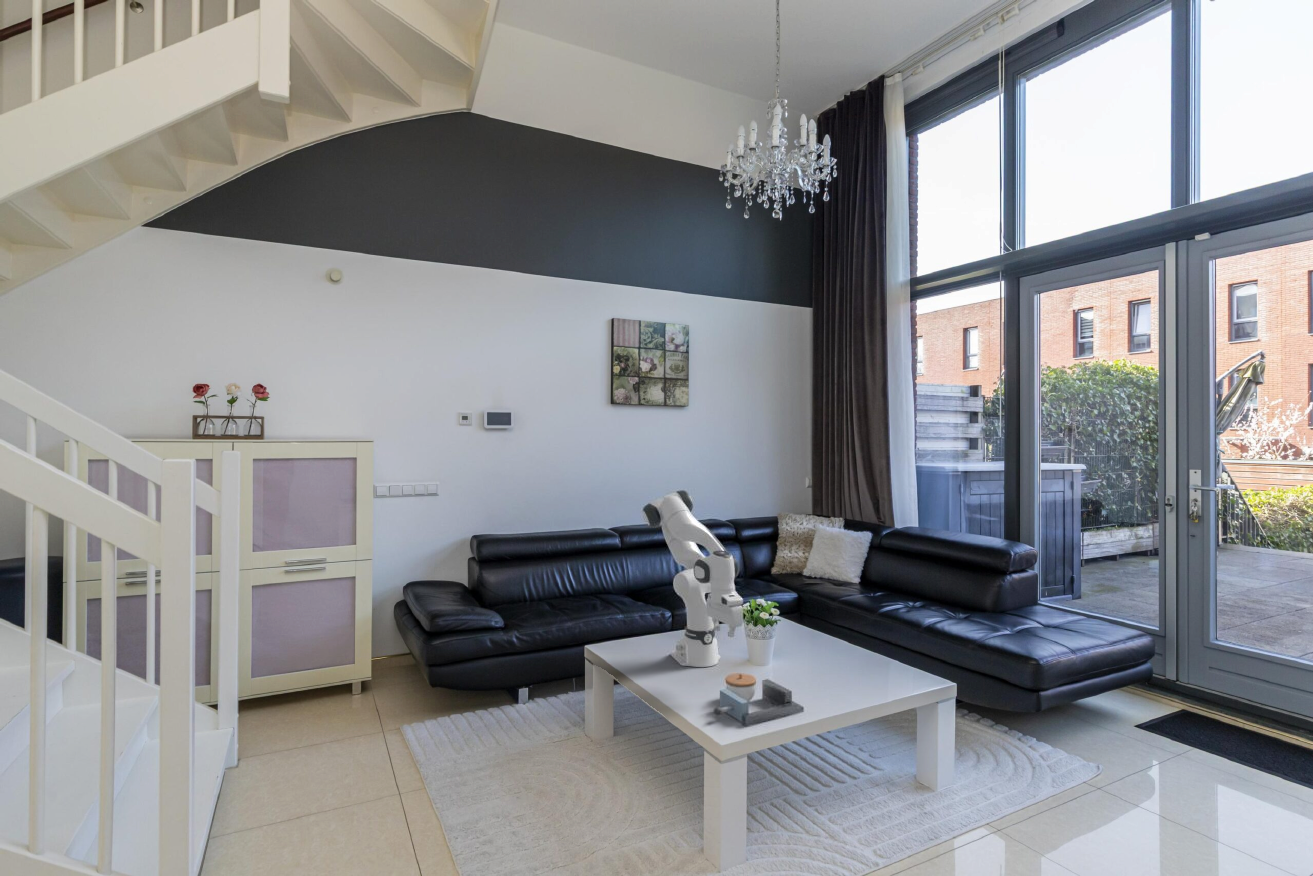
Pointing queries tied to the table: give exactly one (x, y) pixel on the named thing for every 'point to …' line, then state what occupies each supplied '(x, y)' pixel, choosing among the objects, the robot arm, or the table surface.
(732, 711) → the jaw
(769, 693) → the vise body
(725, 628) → the table surface
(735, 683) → the lidded jar
